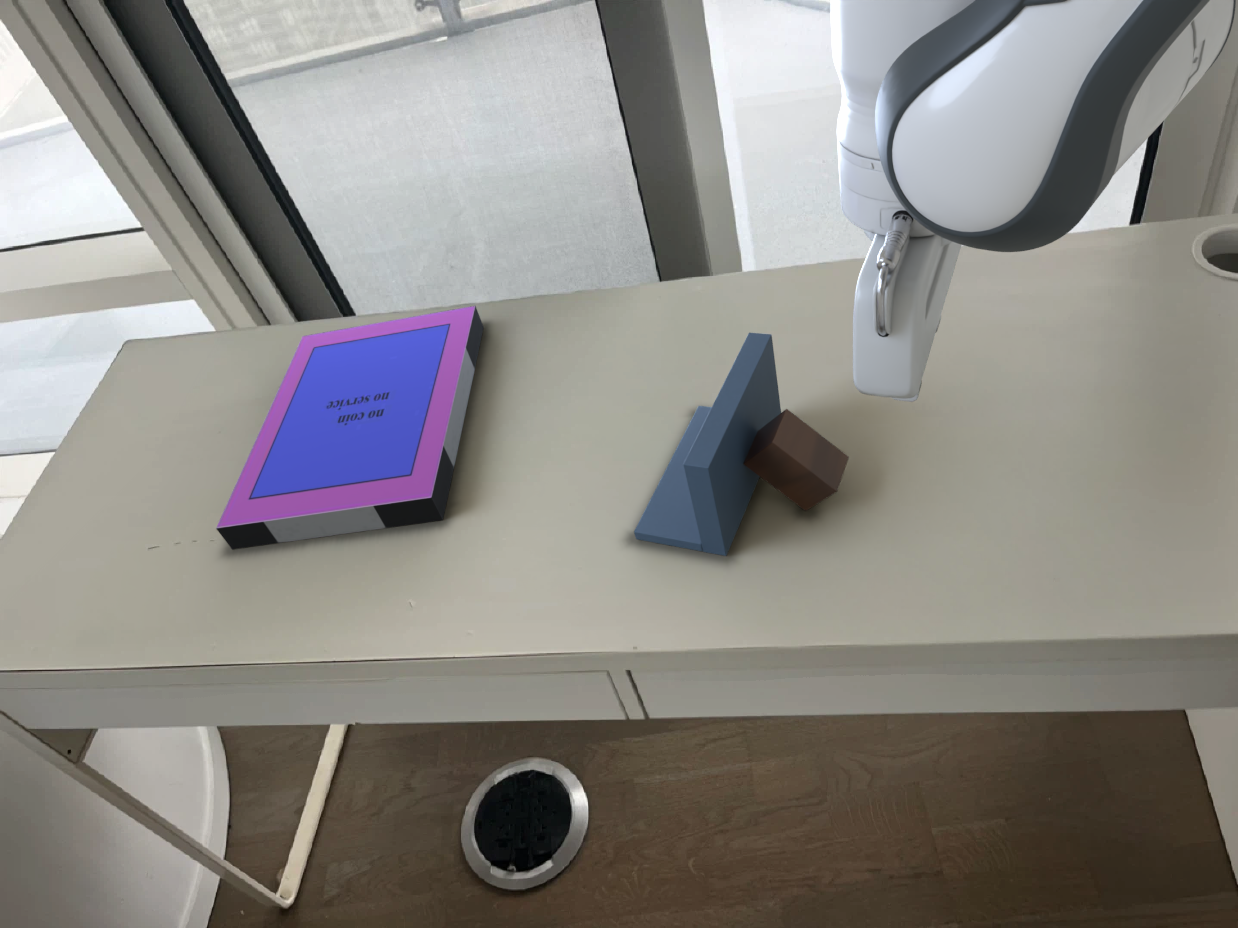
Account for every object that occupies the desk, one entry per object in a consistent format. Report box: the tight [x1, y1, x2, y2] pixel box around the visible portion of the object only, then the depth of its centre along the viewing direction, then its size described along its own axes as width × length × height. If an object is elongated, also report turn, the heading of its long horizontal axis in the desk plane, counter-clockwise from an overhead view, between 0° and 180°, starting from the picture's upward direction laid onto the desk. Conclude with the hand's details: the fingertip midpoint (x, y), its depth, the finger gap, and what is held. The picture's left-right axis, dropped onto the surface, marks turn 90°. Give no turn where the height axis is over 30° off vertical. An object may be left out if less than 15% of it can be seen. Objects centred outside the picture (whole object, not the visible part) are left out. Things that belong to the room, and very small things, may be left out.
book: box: [215, 305, 484, 550], centre depth 94 cm, size 21×3×30 cm
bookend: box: [633, 332, 782, 557], centre depth 76 cm, size 8×16×10 cm, turn 157°
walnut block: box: [743, 408, 850, 512], centre depth 74 cm, size 7×4×7 cm, turn 67°
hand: (916, 359), depth 62 cm, fingers open, 6 cm apart
